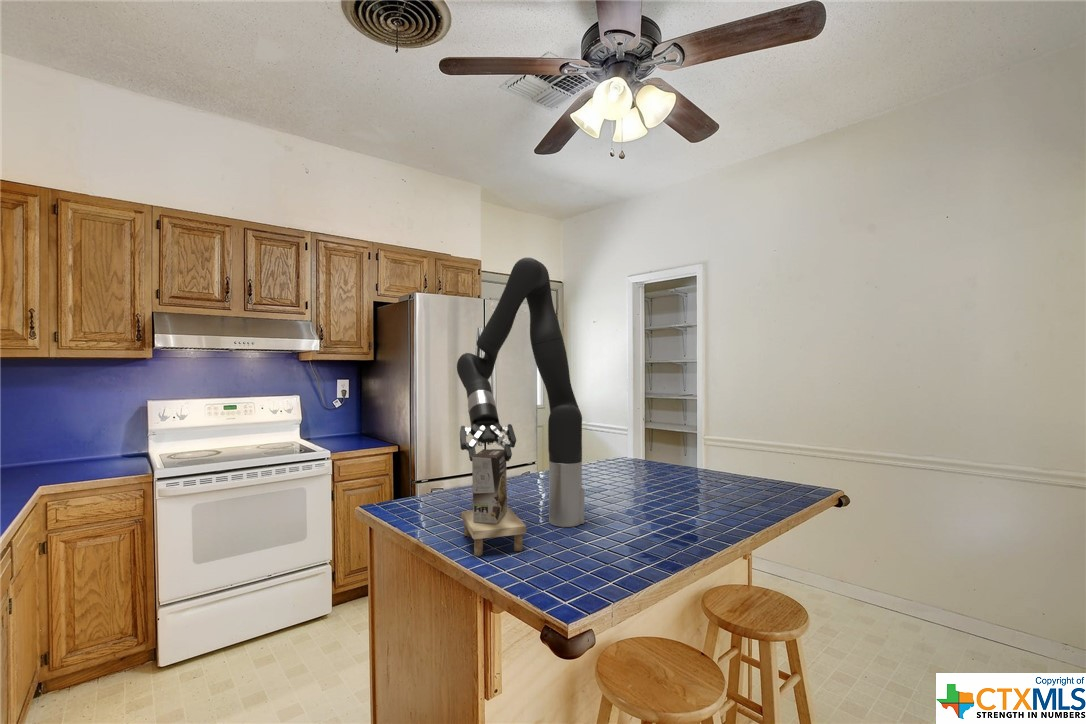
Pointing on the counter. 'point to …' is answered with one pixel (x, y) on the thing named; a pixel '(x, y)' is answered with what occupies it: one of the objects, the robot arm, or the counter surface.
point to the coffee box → (489, 485)
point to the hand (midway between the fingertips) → (491, 460)
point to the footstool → (494, 530)
